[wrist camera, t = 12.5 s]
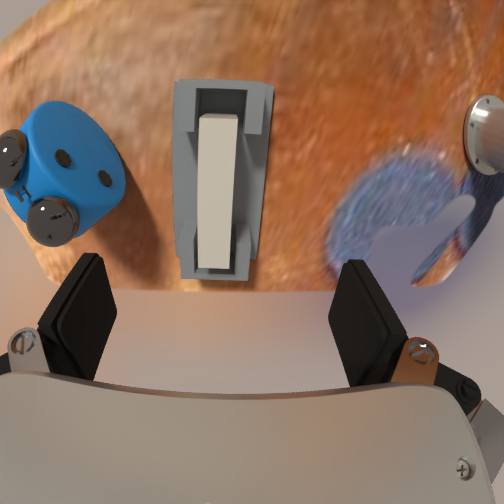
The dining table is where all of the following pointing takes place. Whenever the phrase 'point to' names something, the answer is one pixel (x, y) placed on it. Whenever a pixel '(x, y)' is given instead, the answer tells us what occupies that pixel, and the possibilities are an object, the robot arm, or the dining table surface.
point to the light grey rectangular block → (215, 187)
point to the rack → (245, 173)
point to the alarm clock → (60, 173)
